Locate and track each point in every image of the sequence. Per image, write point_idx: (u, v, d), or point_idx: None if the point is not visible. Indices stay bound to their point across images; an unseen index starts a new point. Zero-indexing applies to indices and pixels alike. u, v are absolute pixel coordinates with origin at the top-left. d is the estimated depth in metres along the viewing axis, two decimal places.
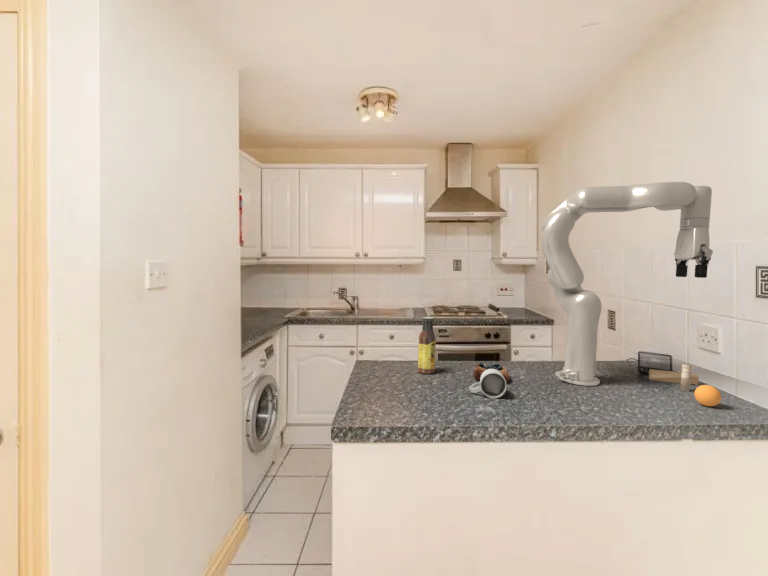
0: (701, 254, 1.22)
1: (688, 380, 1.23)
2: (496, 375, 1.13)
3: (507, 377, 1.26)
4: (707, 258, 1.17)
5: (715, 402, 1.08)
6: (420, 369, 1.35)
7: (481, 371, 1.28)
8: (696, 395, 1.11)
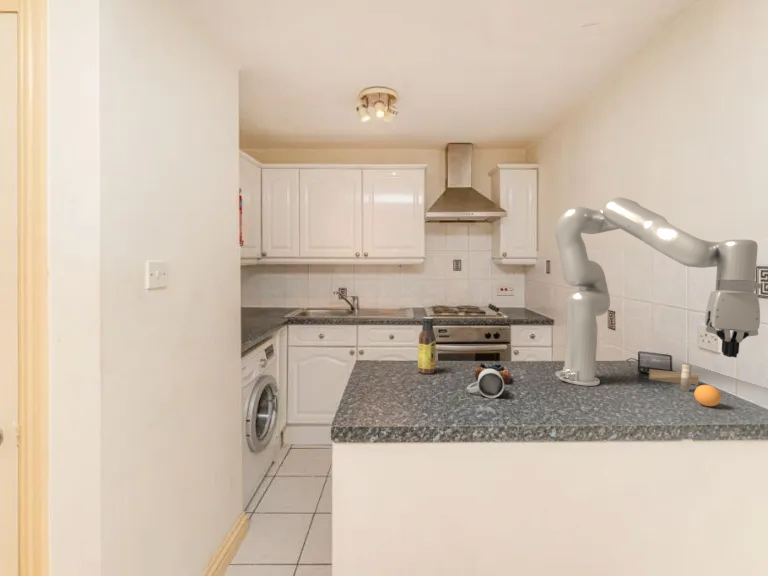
0: None
1: (688, 380, 1.23)
2: (494, 375, 1.13)
3: (509, 377, 1.26)
4: (717, 334, 1.01)
5: (715, 402, 1.08)
6: (420, 369, 1.35)
7: None
8: (696, 395, 1.11)
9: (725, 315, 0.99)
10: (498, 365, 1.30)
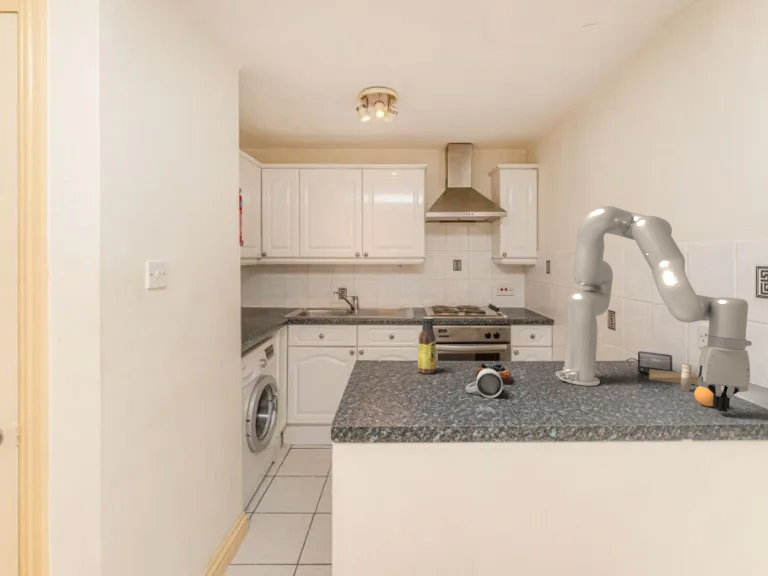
0: None
1: (688, 380, 1.23)
2: (492, 375, 1.13)
3: (510, 378, 1.26)
4: None
5: None
6: (420, 369, 1.35)
7: None
8: (696, 395, 1.11)
9: (716, 371, 1.01)
10: (499, 365, 1.30)
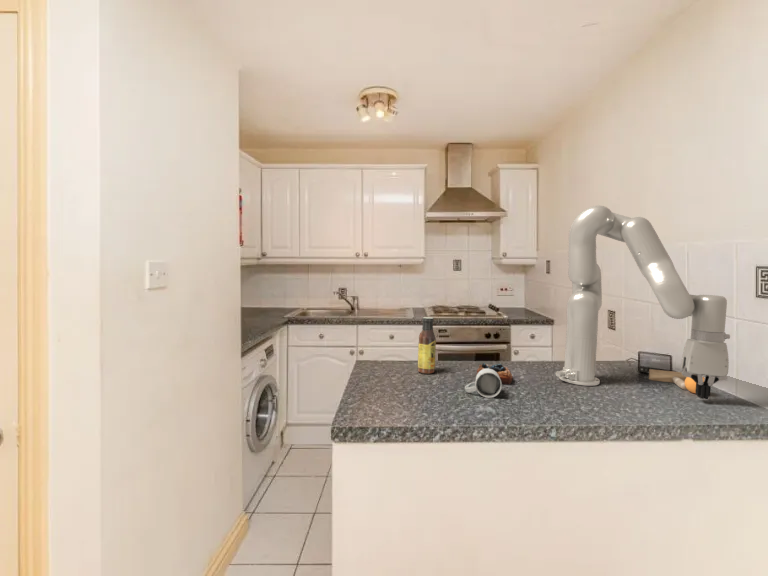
0: None
1: (682, 380, 1.28)
2: (491, 375, 1.13)
3: (510, 378, 1.26)
4: None
5: None
6: (420, 369, 1.35)
7: None
8: None
9: (698, 361, 1.11)
10: (499, 365, 1.30)
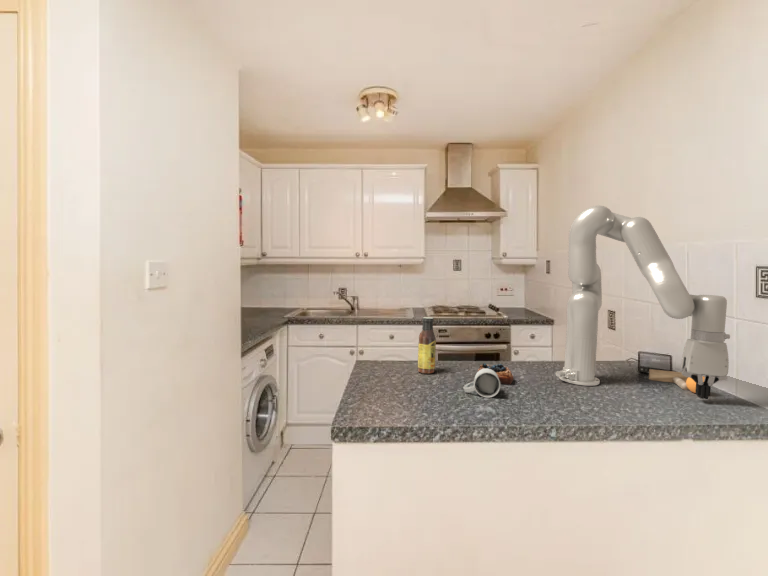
0: None
1: (684, 381, 1.28)
2: (490, 375, 1.13)
3: (511, 378, 1.26)
4: None
5: None
6: (420, 369, 1.35)
7: None
8: (686, 380, 1.23)
9: (698, 361, 1.11)
10: (500, 365, 1.29)
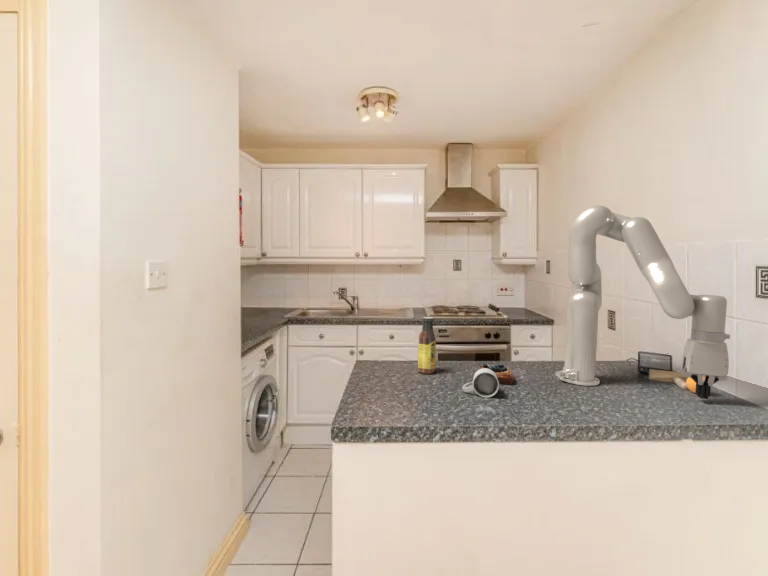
0: None
1: (684, 381, 1.28)
2: (489, 374, 1.13)
3: (512, 378, 1.25)
4: None
5: None
6: (420, 369, 1.35)
7: None
8: (686, 380, 1.23)
9: (698, 361, 1.11)
10: (501, 365, 1.29)
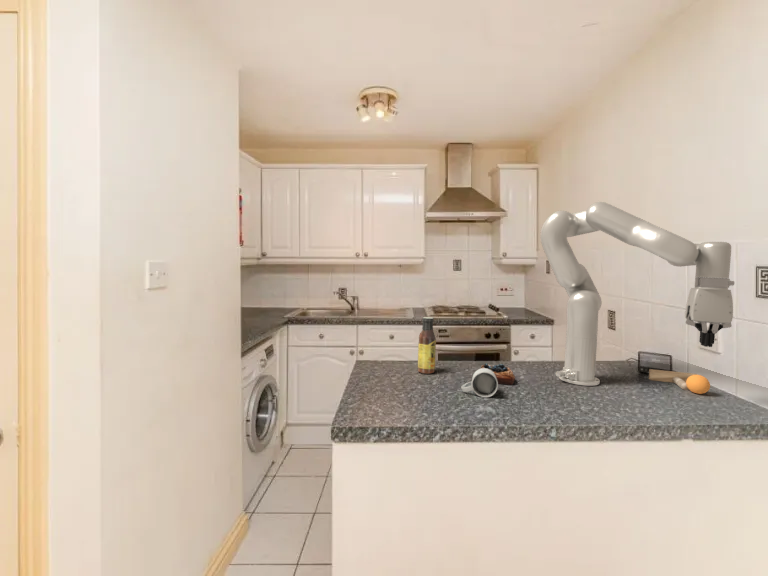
0: None
1: (684, 381, 1.28)
2: (488, 374, 1.13)
3: (513, 378, 1.25)
4: None
5: None
6: (420, 369, 1.35)
7: None
8: (686, 380, 1.23)
9: (702, 309, 1.10)
10: (502, 366, 1.29)
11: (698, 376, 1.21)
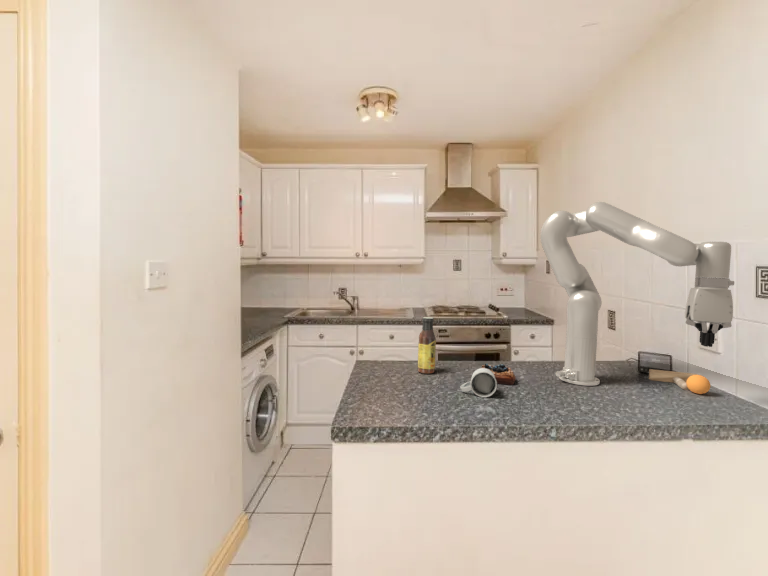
0: None
1: (684, 381, 1.28)
2: (487, 374, 1.14)
3: (513, 378, 1.25)
4: None
5: None
6: (420, 369, 1.35)
7: None
8: None
9: (702, 309, 1.10)
10: (502, 366, 1.29)
11: (699, 376, 1.21)
